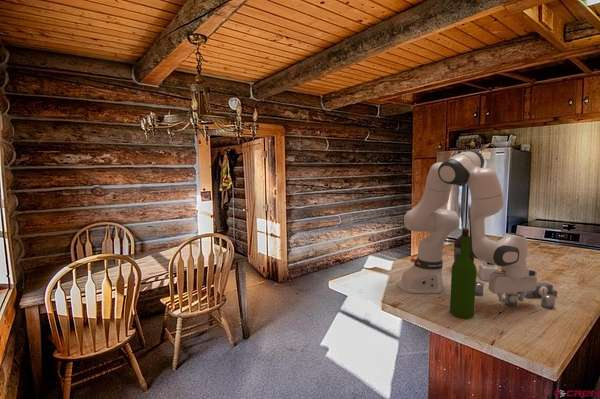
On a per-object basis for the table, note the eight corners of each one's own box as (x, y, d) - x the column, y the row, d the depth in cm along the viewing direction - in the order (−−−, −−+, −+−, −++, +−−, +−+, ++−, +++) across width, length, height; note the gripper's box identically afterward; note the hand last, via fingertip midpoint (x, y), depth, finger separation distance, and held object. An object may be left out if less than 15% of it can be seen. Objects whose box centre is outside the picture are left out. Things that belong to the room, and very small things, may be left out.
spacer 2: (510, 307, 136) (510, 296, 135) (502, 303, 140) (502, 292, 140) (519, 306, 136) (520, 295, 136) (511, 302, 141) (512, 291, 140)
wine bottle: (466, 308, 136) (470, 233, 132) (478, 318, 127) (483, 239, 123) (445, 308, 135) (449, 234, 131) (456, 319, 126) (460, 239, 122)
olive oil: (463, 267, 186) (465, 225, 183) (478, 273, 176) (481, 229, 173) (448, 269, 183) (450, 227, 180) (463, 276, 173) (465, 231, 170)
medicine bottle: (493, 277, 171) (494, 255, 169) (497, 282, 164) (499, 259, 163) (478, 276, 173) (479, 254, 171) (482, 280, 166) (483, 258, 165)
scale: (528, 298, 144) (529, 287, 143) (499, 284, 161) (500, 273, 160) (557, 296, 146) (558, 285, 145) (525, 282, 163) (526, 272, 163)
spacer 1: (476, 295, 148) (477, 285, 147) (470, 291, 152) (470, 281, 152) (485, 295, 148) (486, 285, 148) (478, 291, 153) (479, 281, 152)
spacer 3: (547, 309, 134) (548, 298, 133) (538, 304, 138) (539, 293, 138) (556, 308, 134) (558, 297, 134) (547, 304, 139) (548, 293, 138)
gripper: (496, 274, 132) (494, 306, 133) (540, 271, 134) (538, 303, 136) (485, 269, 138) (484, 299, 139) (528, 266, 140) (526, 296, 142)
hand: (511, 301), depth 138 cm, fingers open, 8 cm apart
